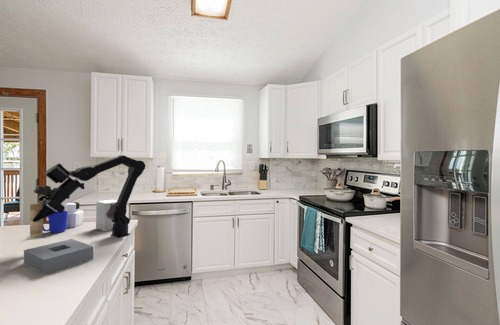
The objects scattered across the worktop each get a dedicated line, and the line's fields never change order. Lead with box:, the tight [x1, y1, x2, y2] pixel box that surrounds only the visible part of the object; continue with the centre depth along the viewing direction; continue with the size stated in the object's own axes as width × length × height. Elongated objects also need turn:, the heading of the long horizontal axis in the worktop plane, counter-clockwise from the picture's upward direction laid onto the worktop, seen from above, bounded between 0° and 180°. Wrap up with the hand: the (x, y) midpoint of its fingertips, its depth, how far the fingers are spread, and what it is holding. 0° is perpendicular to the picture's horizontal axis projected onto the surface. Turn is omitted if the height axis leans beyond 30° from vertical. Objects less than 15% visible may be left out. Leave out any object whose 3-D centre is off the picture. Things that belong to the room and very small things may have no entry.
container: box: [64, 201, 84, 228], centre depth 147 cm, size 8×8×13 cm
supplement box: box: [95, 199, 117, 232], centre depth 144 cm, size 9×9×15 cm
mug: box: [43, 210, 68, 234], centre depth 133 cm, size 8×12×10 cm
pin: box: [29, 202, 44, 238], centre depth 106 cm, size 4×4×13 cm
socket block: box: [23, 238, 94, 275], centre depth 99 cm, size 16×16×5 cm
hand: (32, 220), depth 105 cm, fingers closed on pin, 4 cm apart
